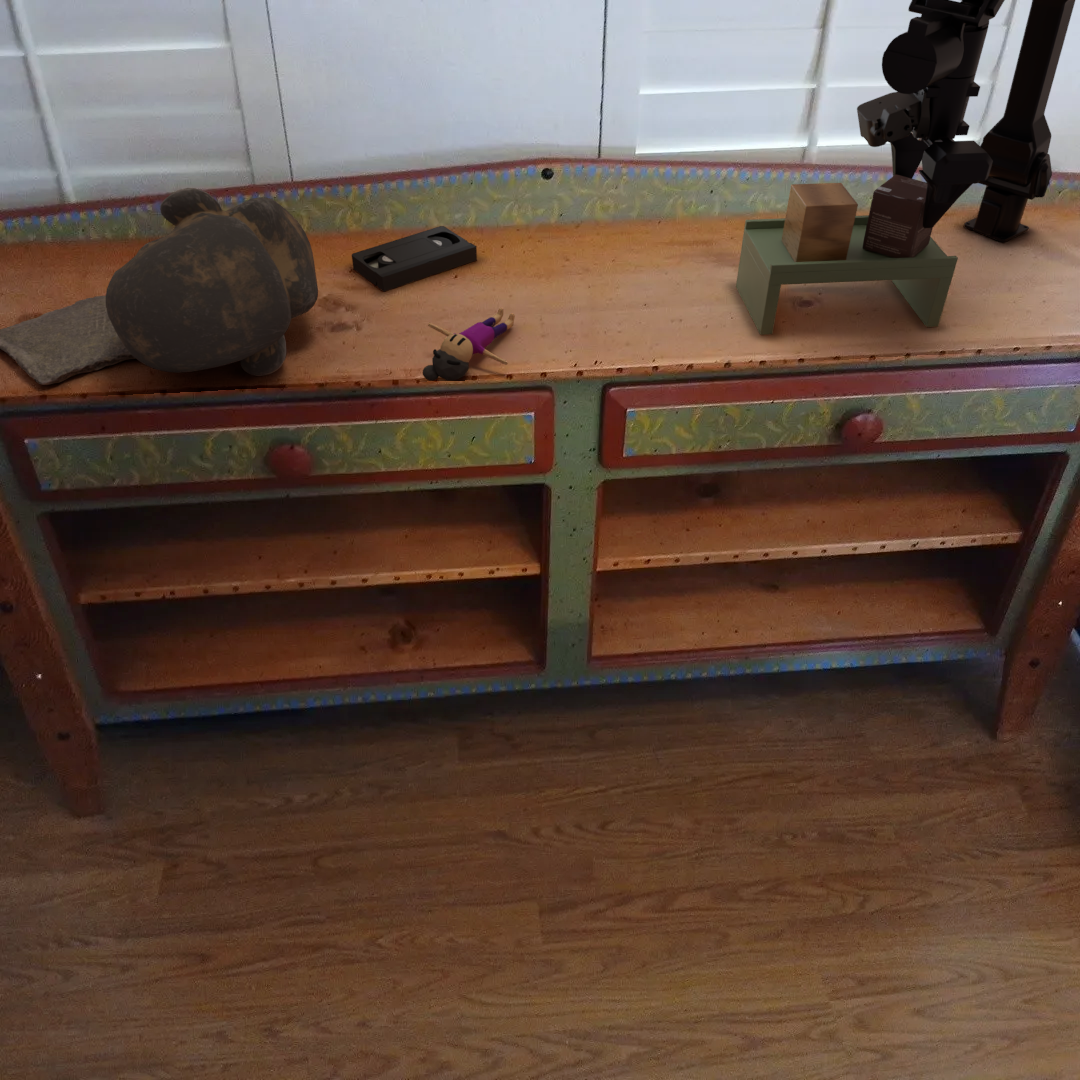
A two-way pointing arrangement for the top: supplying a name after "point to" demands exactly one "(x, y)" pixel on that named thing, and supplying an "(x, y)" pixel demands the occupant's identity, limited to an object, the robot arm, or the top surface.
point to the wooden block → (819, 222)
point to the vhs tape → (413, 258)
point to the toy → (465, 347)
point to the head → (214, 286)
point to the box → (897, 219)
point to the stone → (65, 342)
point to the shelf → (836, 272)
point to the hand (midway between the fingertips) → (912, 210)
